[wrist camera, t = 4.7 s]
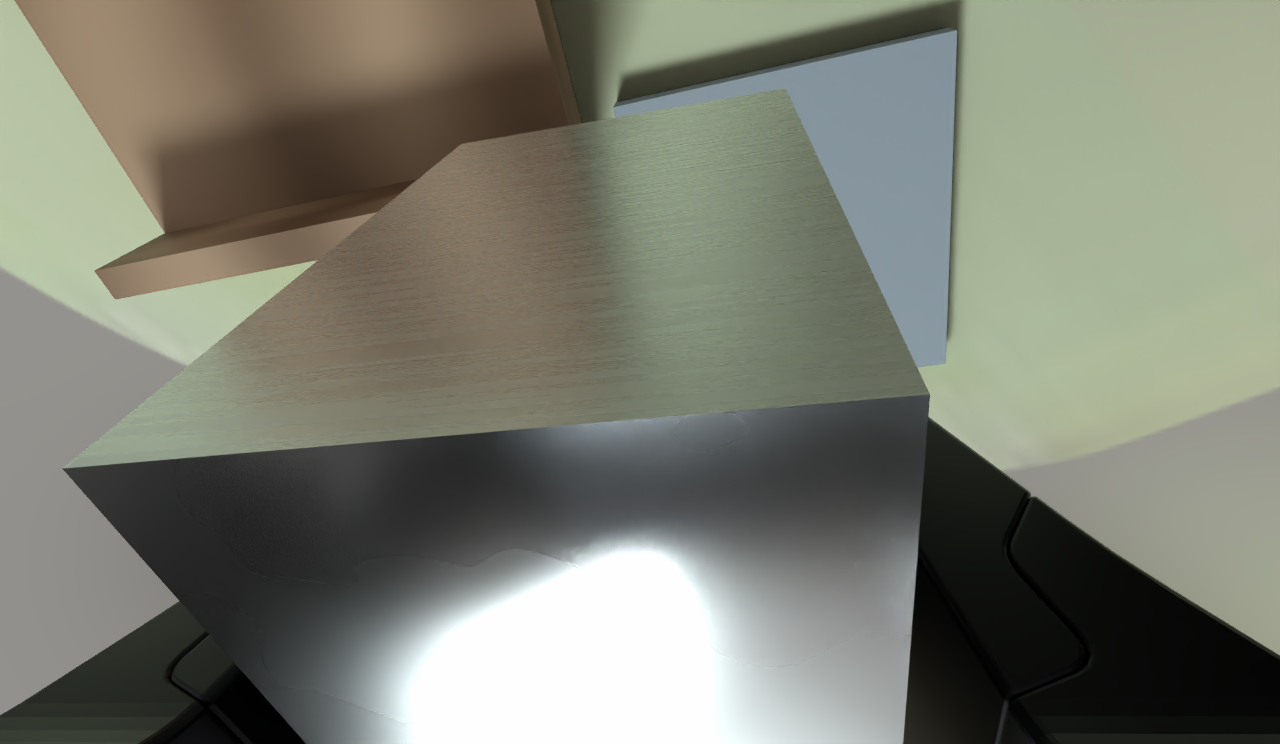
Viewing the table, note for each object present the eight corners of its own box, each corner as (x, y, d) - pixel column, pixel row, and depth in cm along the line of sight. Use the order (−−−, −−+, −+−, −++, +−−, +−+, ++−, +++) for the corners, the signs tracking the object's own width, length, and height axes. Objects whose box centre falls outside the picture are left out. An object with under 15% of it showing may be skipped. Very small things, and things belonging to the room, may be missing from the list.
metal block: (785, 87, 7) (931, 393, 2) (808, 517, 11) (884, 982, 6) (461, 143, 8) (63, 468, 3) (585, 530, 12) (493, 955, 7)
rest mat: (948, 27, 15) (957, 29, 14) (939, 352, 20) (945, 363, 19) (616, 102, 16) (613, 107, 16) (681, 387, 21) (681, 398, 21)
